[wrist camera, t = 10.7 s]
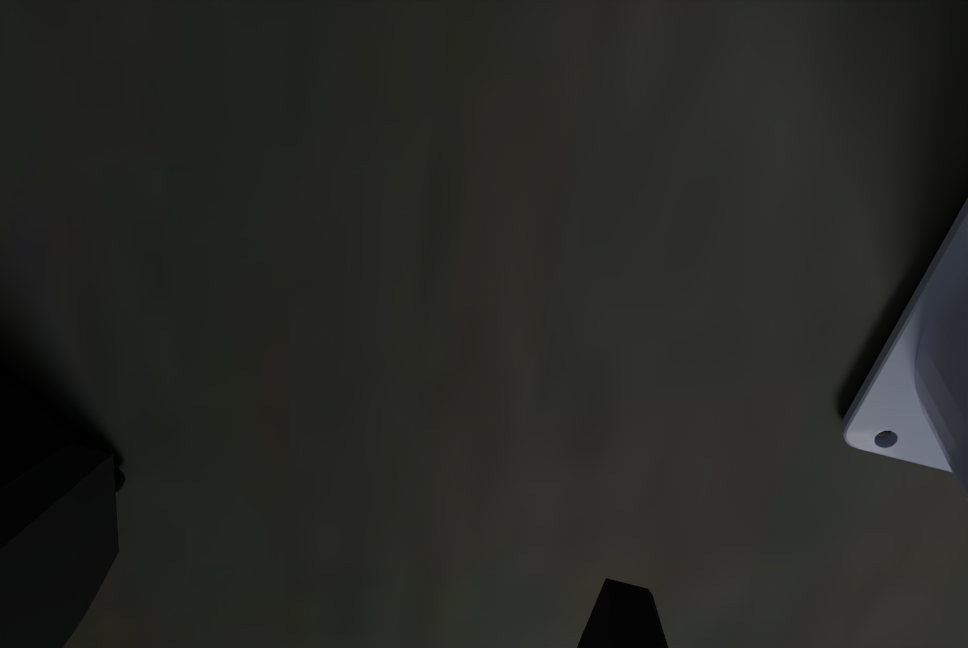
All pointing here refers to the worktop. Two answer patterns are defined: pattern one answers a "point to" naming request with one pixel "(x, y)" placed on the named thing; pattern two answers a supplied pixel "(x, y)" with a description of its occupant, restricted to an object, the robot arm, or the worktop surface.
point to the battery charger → (32, 432)
